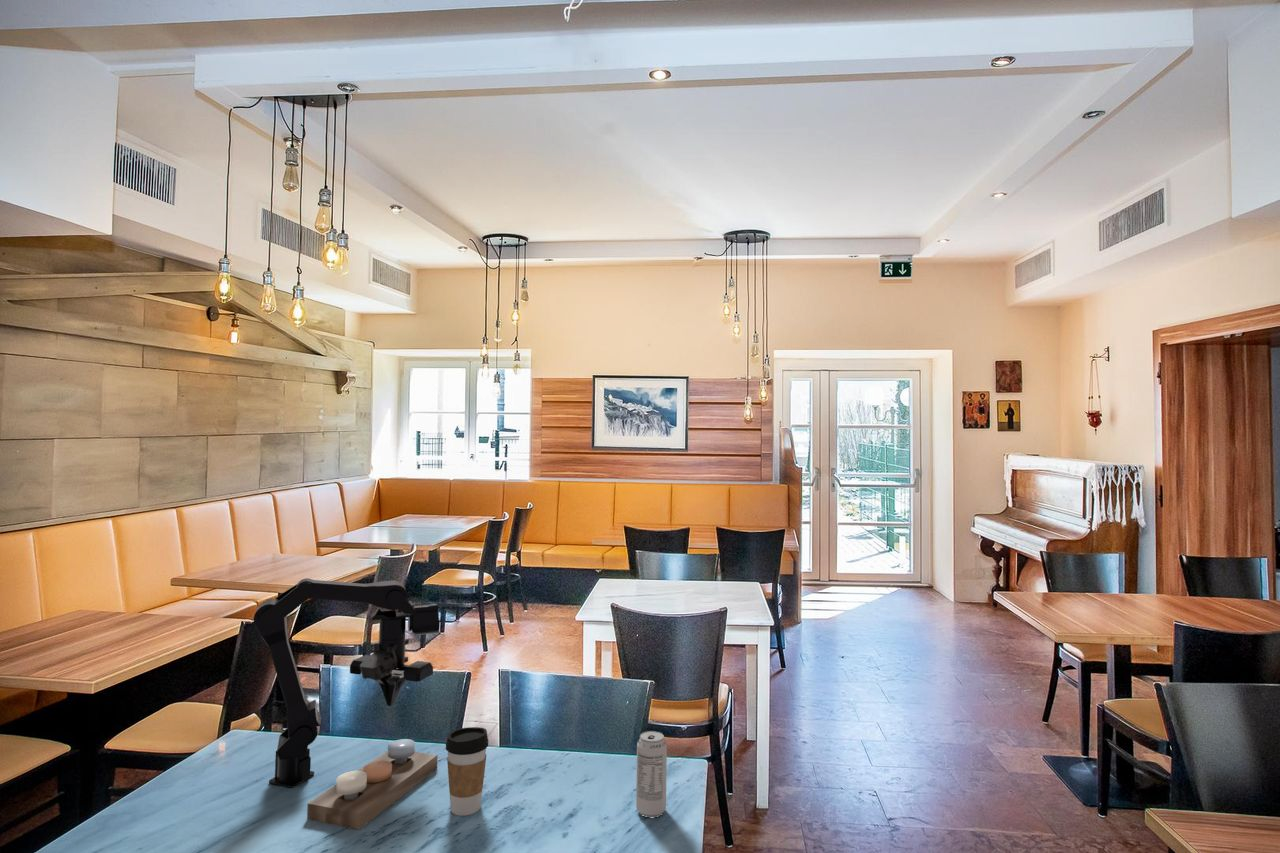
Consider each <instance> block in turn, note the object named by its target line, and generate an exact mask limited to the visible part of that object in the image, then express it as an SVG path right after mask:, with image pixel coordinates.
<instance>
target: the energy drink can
mask: <svg viewBox="0 0 1280 853" xmlns="http://www.w3.org/2000/svg"><path fill="white" fill-rule="evenodd" d="M667 746H668V744H667V742H666V740H665V735H664V734H663V733H662V732H660V731H654V730H647V731H644V732H642V733H640V735H639V739H638V741H637V744H636V788H635V789H636V791H635V792H636V793H635V796H636V797H635V798H636V800H635V807H636V810H637V811H638V814H639V813H640V814H641V815H644V816H647V817H657V816H660V815H661V814H662V813H663V814H664V813H665V811H666V810H667V768H668V766H667V760H668V759H667V757H668V756H667V755H668V753H667V752H668V751H667V750H668V747H667ZM640 814H639V815H640ZM663 814H662V815H663ZM641 815H640V816H641ZM660 817H661V816H660Z"/></svg>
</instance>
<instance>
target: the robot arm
mask: <svg viewBox="0 0 1280 853" xmlns="http://www.w3.org/2000/svg"><path fill="white" fill-rule="evenodd" d="M307 600H321V601H322V600H324V601H338V602H339V601H341V602H355V603H364V604H369V605H371V606H374V607H377V609H376V610H375V611H374V612H372V613H371V614H370V618H371V620H372V621H379V624H378V625H379V626H378V627H379V628H378V629H379V630H378V631H379V632H378V634H379V635H378V642H376V643H375V644H374V648H373V649H374V650H373V652H372V653H371V654H369V655H368V654H365V655H362V656H360V657H358V658H355V659H353V660H352V661H351V663H350V665H349V674H352V675H362V679H365V680H366V679H368V680H373V681H375V682H376V683H378V685H379V687H380V689H381V691H382V694H383V697H384V700H385V703H386V705H387V706H388V707H392V706H393V705H394V703H395V702H396V699H397V698H398V695H399V692H400V691H401V689H402V687H403V685H404V683H405V682H406V681H407V682H408V681H409V682H415V683H417V682H421V681H423V680H425V679H427V678H429V677H430V676H432V675H433V674H434V665H433V664H432V663H431V662H430V661H422V660H421V661H420V660H417V661H415V662H413V663H411V664H405V663H407V662H409V656H406V645H408V644H409V641H410V640H409V638H408V639H407V638H406V626H407V630H408V632H411V633H412V635H413V636H420V635H431V634H439V633H440V628H441V627H440V626H441V622H440V617H439V605H438V604H437V603H429V604H424V605H423V604H421V605H414V604H413V603H414V602H413V601H412V600H410V599H409V598H408V592H407V590H406V587H405V586H404V584H403V583H402V582H400V581H398V580H383V581H381V580H380V581H375V582H371V583H370V582H369V583H358V582H357V583H356V582H344V581H332V580H320V579H312V578H303V579H301V580H299V581H298V582H297V583H296V584H295V585H293V586H292V587H290V588H289V589H287V590H285V591H284V592H282V593H280V594H279V595H278V596H277V597H275V598H268V599H266V600H264V601H261V603H259V604H258V607H257V609H256V611H255V613H254V615H253V624H254V626H255V628H256V631H257V632H258V634H259V636H260V637H261V639H262V640H263V641H264V643H265V644H266V645H267V647H268V650H269V654H270V657H271V660H272V664H273V666H274V670H275V673H276V677H277V680H278V683H279V687H280V690H281V693H282V697H283V701H284V705H285V707H286V708H285V709H286V725H287V728H286V729H284V730H283V732H281V733H280V734H279V736H278V743H277V748H276V750H275V761H274V762H275V763H274V764H275V765H274V777H273V778H271V779H269V781H268V784H271V785H277V786H282V787H288V788H294V787H296V786H298V785H299V784H301V783H303V782H304V781H306V780H307V779H309V778H311V777H313V776H314V775H315V771H312V770H311V763H312V757H311V756H310V754H311V748H308V747H309V746H310V745H311V744H313V743H314V741H316V738H317V737H318V735H319V734H318V733H319V728H320V727H321V716H322V714H321V713H320V712H319V710H318V707H317V699H314V700H311V701H309V700H308V698H307V697H306V695H305V693H304V692H305V691H304V689H303V685H302V682H301V679H300V676H299V672H298V668H297V665H296V661H295V658H294V655H293V651H292V648H291V645H290V642H289V638H288V621H287V618H288V616H289V615H290V614H291V613H293V612H294V611H295V610H296V609H298V608H299V607H300V606H301V605H302V604H304V602H306V601H307ZM381 608H382V609H381ZM383 609H386V610H383ZM397 610H398V611H400V612H397ZM406 621H407V622H406ZM406 623H407V625H406Z"/></svg>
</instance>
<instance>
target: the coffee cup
mask: <svg viewBox="0 0 1280 853" xmlns="http://www.w3.org/2000/svg"><path fill="white" fill-rule="evenodd" d="M488 737H489V736H488V730H487V729H486V728H483V727H477V726H475V727H474V726H472V727H469V726H468V727H461V728H457V729H454V730H452V731H450V732H449V733H448V734H447V738H446V742H445V750H446V751H447V758H446V759H447V760H446V761H447V776H448V788H449V803H450V804H449V805H450V812H451V813H452V814H453V815H456V816H461V817H463V816H470V815H473V814H475V813H477V812H478V811H479V810H480V809H481V806H482V799H483V798H482V796H483V789H484V788H483V787H484V780H485V771H486V763H487V762H486V761H487V753H486V752H487V748H488V747H489V738H488Z"/></svg>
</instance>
